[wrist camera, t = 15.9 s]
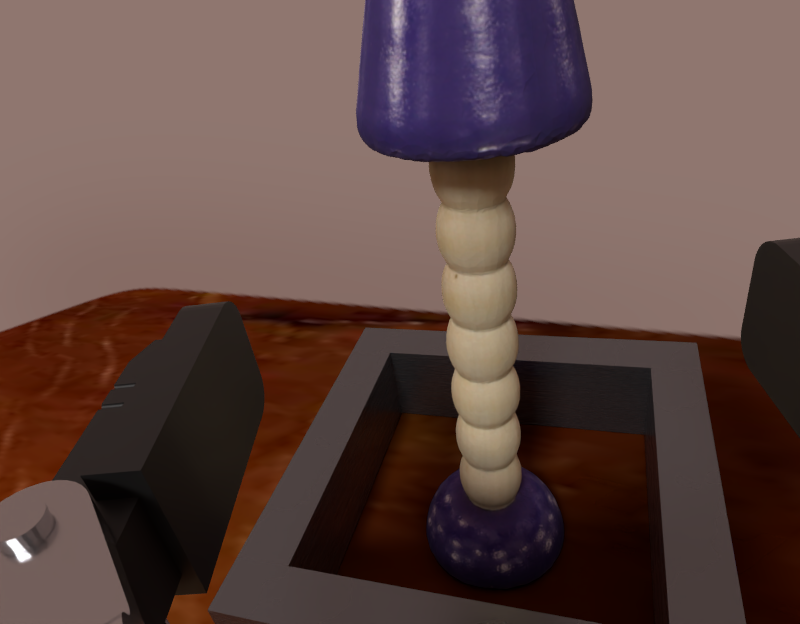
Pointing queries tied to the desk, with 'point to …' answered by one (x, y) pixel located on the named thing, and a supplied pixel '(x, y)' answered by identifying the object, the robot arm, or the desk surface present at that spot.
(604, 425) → the square frame
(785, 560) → the desk surface
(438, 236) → the toy lamp
